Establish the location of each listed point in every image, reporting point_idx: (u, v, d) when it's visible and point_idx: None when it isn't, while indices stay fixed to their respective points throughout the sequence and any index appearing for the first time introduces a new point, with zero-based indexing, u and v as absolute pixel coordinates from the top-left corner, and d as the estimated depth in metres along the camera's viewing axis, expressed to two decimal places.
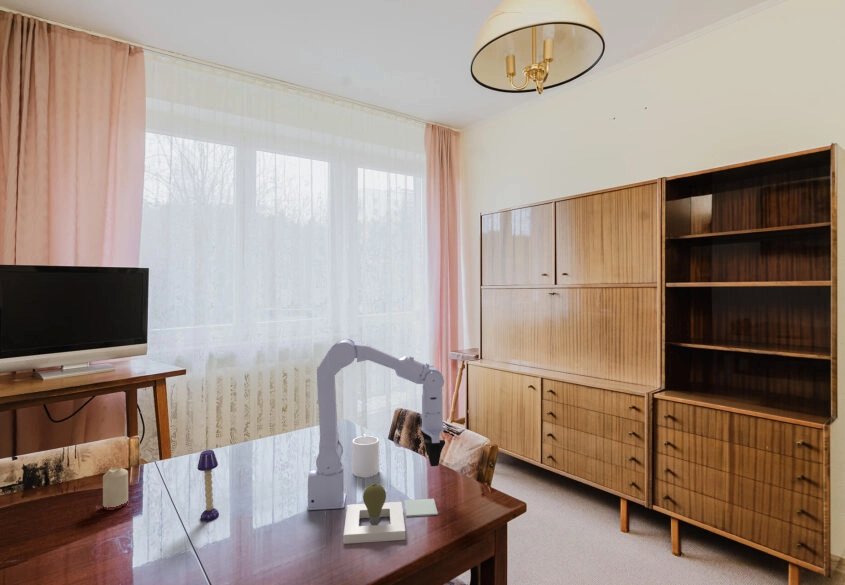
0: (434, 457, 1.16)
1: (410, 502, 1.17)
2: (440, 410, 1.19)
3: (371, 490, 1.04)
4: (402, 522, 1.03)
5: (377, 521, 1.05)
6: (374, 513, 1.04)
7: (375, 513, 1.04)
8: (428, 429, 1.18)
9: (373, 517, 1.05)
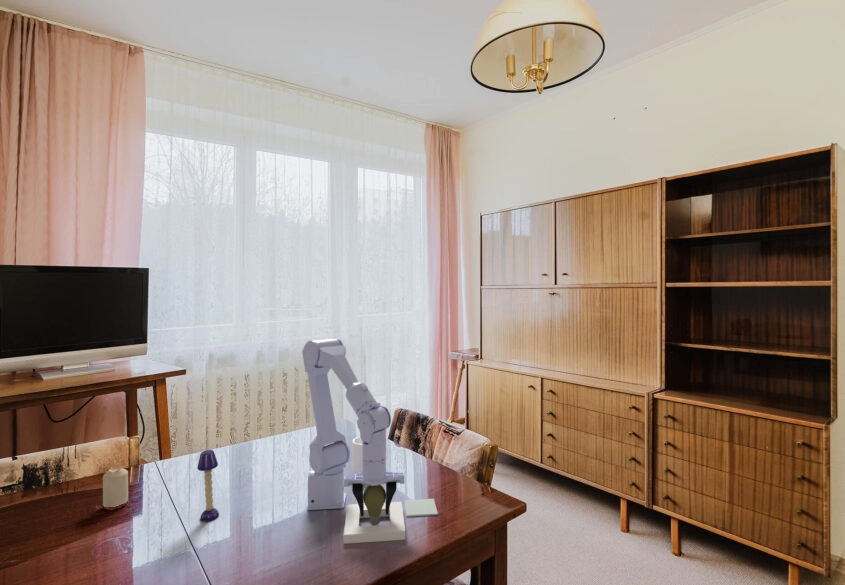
0: None
1: (410, 502, 1.17)
2: (374, 459, 1.03)
3: (371, 489, 1.04)
4: (402, 522, 1.03)
5: (377, 521, 1.05)
6: (374, 513, 1.04)
7: (375, 513, 1.04)
8: None
9: (373, 517, 1.05)
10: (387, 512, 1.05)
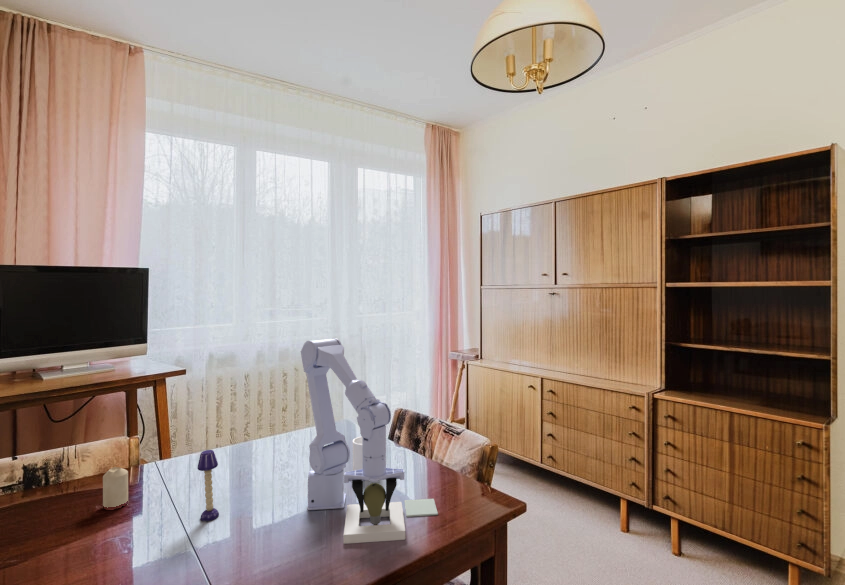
0: None
1: (410, 502, 1.17)
2: (374, 455, 1.03)
3: (370, 489, 1.04)
4: (402, 522, 1.03)
5: (378, 520, 1.05)
6: (374, 512, 1.04)
7: (375, 512, 1.04)
8: None
9: (374, 516, 1.05)
10: (387, 508, 1.05)
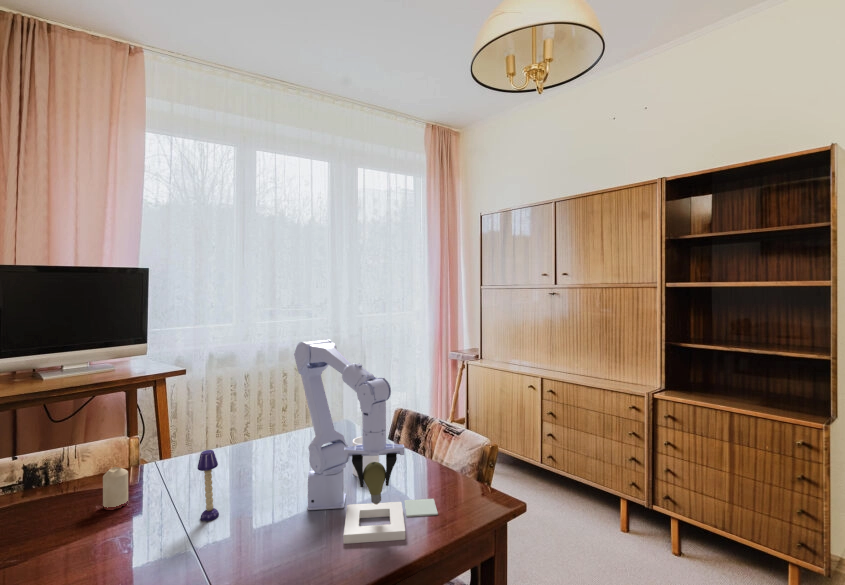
0: None
1: (410, 502, 1.17)
2: (373, 429, 1.03)
3: (370, 467, 1.04)
4: (402, 522, 1.03)
5: (379, 499, 1.05)
6: (375, 491, 1.04)
7: (376, 490, 1.04)
8: None
9: (374, 495, 1.04)
10: (387, 483, 1.05)
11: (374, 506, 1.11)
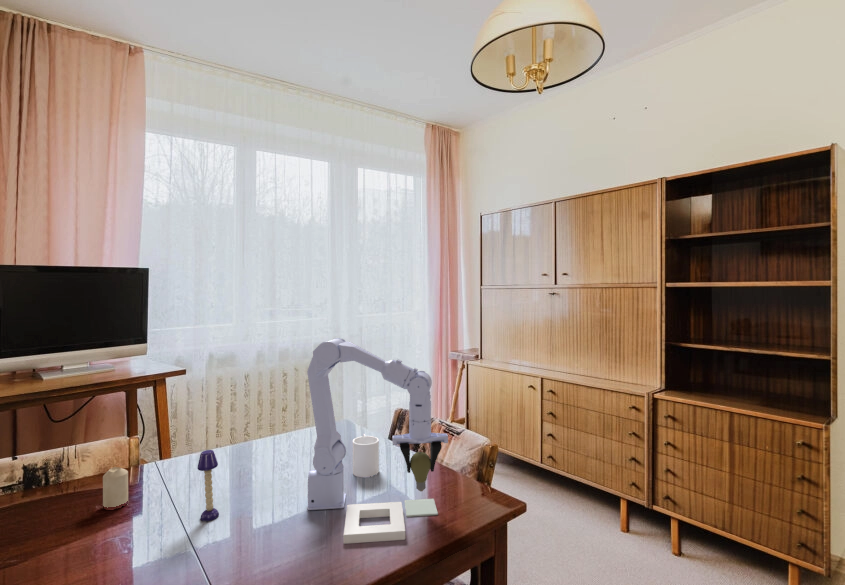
0: None
1: (410, 502, 1.17)
2: (426, 418, 1.12)
3: (417, 457, 1.13)
4: (402, 522, 1.03)
5: (423, 486, 1.13)
6: (420, 478, 1.12)
7: (422, 478, 1.12)
8: None
9: (420, 482, 1.13)
10: (432, 469, 1.13)
11: (374, 506, 1.11)
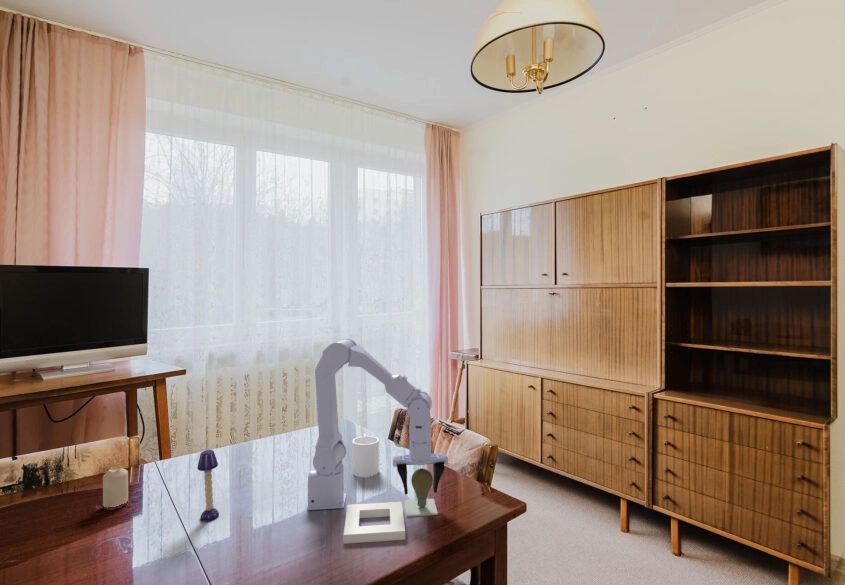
0: None
1: (410, 502, 1.17)
2: (426, 440, 1.12)
3: (419, 474, 1.12)
4: (402, 522, 1.03)
5: (424, 503, 1.13)
6: (422, 495, 1.12)
7: (423, 495, 1.12)
8: (410, 454, 1.15)
9: (421, 499, 1.12)
10: (435, 490, 1.14)
11: (374, 506, 1.11)
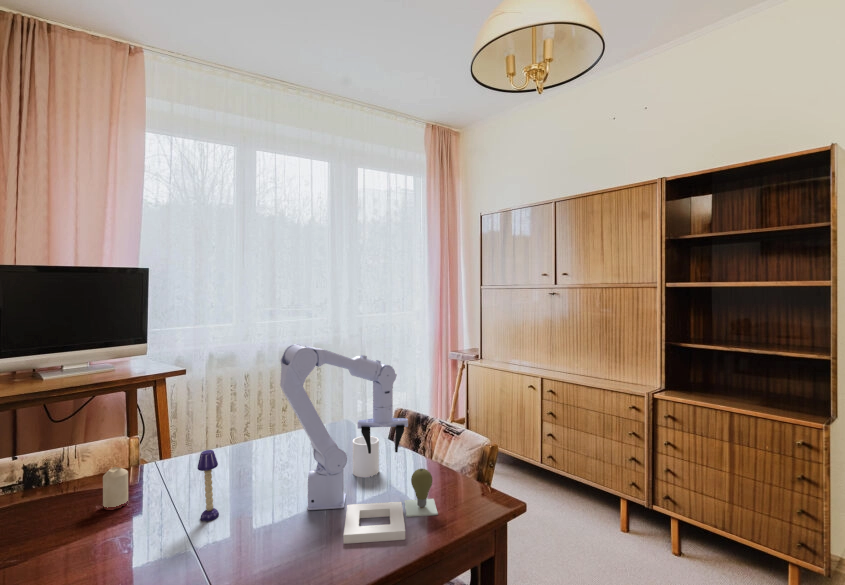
0: None
1: (410, 502, 1.17)
2: (392, 403, 1.26)
3: (419, 474, 1.12)
4: (402, 522, 1.03)
5: (424, 503, 1.13)
6: (422, 495, 1.12)
7: (423, 495, 1.12)
8: None
9: (421, 499, 1.13)
10: (396, 450, 1.26)
11: (374, 506, 1.11)
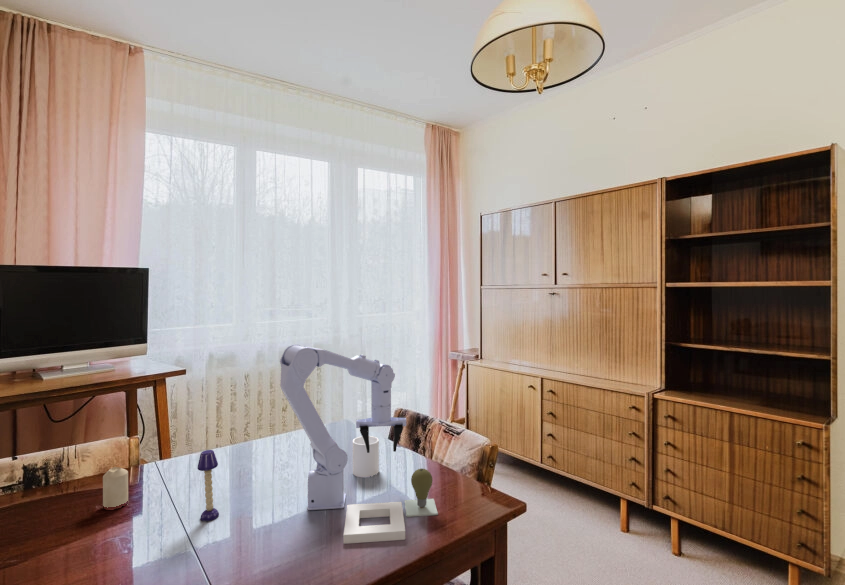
0: None
1: (410, 502, 1.17)
2: (390, 402, 1.27)
3: (419, 474, 1.12)
4: (402, 522, 1.03)
5: (424, 503, 1.13)
6: (422, 495, 1.12)
7: (423, 495, 1.12)
8: None
9: (421, 499, 1.13)
10: (395, 449, 1.26)
11: (374, 506, 1.11)
